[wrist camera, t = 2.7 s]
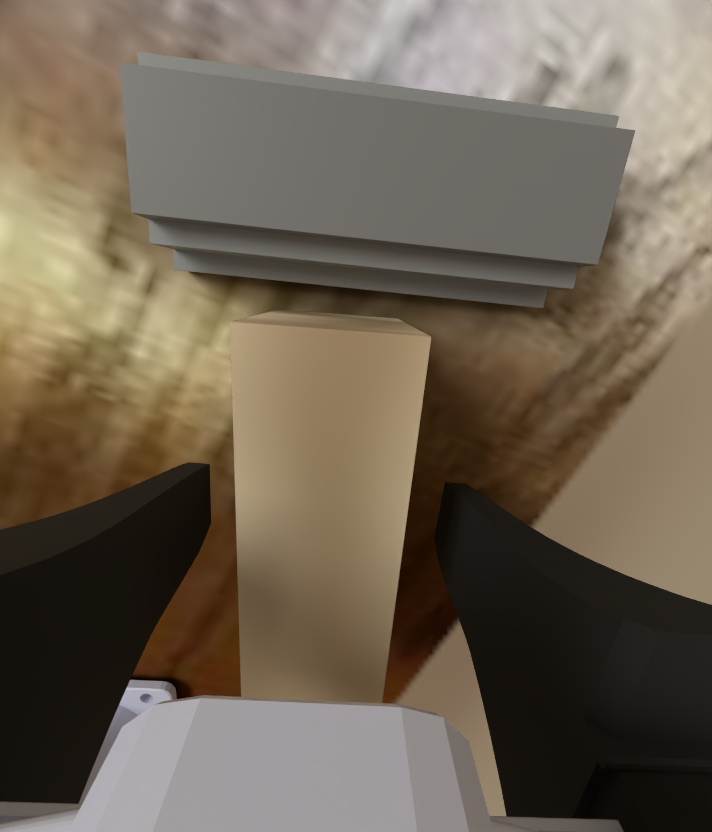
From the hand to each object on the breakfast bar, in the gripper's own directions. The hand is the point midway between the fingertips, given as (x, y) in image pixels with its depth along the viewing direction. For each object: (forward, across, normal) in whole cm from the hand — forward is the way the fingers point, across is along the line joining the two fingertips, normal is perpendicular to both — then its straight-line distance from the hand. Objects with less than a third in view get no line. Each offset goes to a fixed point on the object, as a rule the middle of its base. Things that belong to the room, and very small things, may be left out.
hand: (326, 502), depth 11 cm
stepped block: (+1, 0, -8) cm, 9 cm away
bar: (+2, 0, 0) cm, 2 cm away
